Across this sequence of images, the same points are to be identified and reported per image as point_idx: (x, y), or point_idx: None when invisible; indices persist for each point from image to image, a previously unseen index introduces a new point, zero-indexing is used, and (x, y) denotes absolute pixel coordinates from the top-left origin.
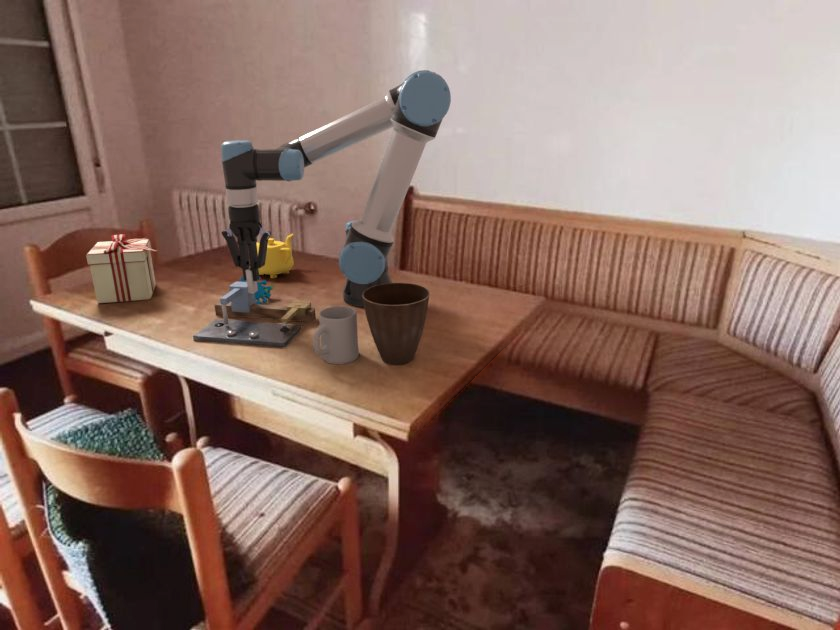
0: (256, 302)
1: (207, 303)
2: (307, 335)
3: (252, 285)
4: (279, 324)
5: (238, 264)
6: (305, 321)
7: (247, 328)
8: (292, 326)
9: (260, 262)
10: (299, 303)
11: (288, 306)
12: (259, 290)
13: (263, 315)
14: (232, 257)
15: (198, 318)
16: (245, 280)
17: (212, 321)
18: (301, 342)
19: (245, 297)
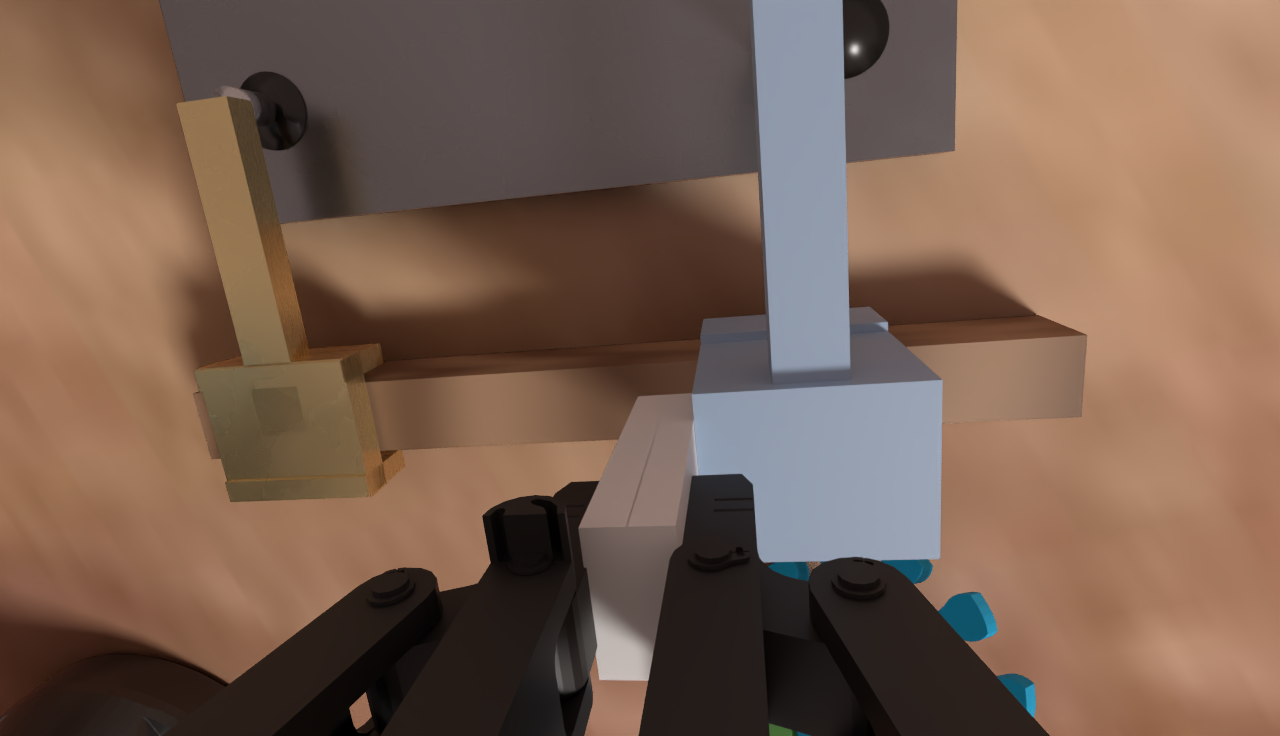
0: (794, 569)
1: (1251, 529)
2: (151, 146)
3: (623, 431)
4: (369, 199)
5: (821, 590)
6: None
7: (559, 41)
8: None
9: (312, 640)
10: (297, 461)
11: (330, 372)
12: None
13: (602, 351)
14: (1008, 700)
15: (1166, 207)
16: (727, 474)
17: (953, 88)
18: (114, 16)
19: (724, 359)
